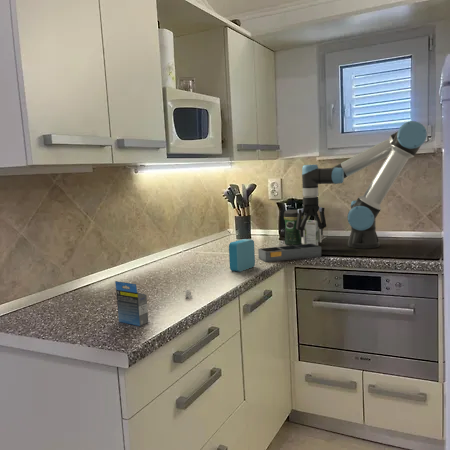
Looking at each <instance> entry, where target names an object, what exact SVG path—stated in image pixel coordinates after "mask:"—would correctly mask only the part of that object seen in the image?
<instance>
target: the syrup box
mask: <svg viewBox="0 0 450 450" xmlns="http://www.w3.org/2000/svg"><path fill="white" fill-rule="evenodd" d="M318 229H319V227H318V222H317V221H316V220H315V219H314V220H311V219H309V220H307V222H306V225H305V227H304V231H305V244H311V243H312V244H315V245H318V246H319V242H318Z"/></svg>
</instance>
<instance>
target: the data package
mask: <svg viewBox="0 0 450 450" xmlns="http://www.w3.org/2000/svg"><path fill="white" fill-rule="evenodd" d="M228 258H229V261H228V263H229V270H230V271H232V272H237V273H238V272H244V271H246V269H247V270H249V268H250V269H253V268H254V267H255V265H256V257H255V241H254V239H248V238H243V239H239V240H235V241H231V242H229V244H228ZM252 267H253V268H252ZM243 270H244V271H243Z"/></svg>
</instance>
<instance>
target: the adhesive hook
mask: <svg viewBox="0 0 450 450" xmlns="http://www.w3.org/2000/svg"><path fill="white" fill-rule="evenodd" d="M182 291H183V292H184V294H185V295H184V297H185V300H186V299H187V298H188V300H190V299H192V298H193V295H192V291H191V289H185V290H182Z"/></svg>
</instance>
